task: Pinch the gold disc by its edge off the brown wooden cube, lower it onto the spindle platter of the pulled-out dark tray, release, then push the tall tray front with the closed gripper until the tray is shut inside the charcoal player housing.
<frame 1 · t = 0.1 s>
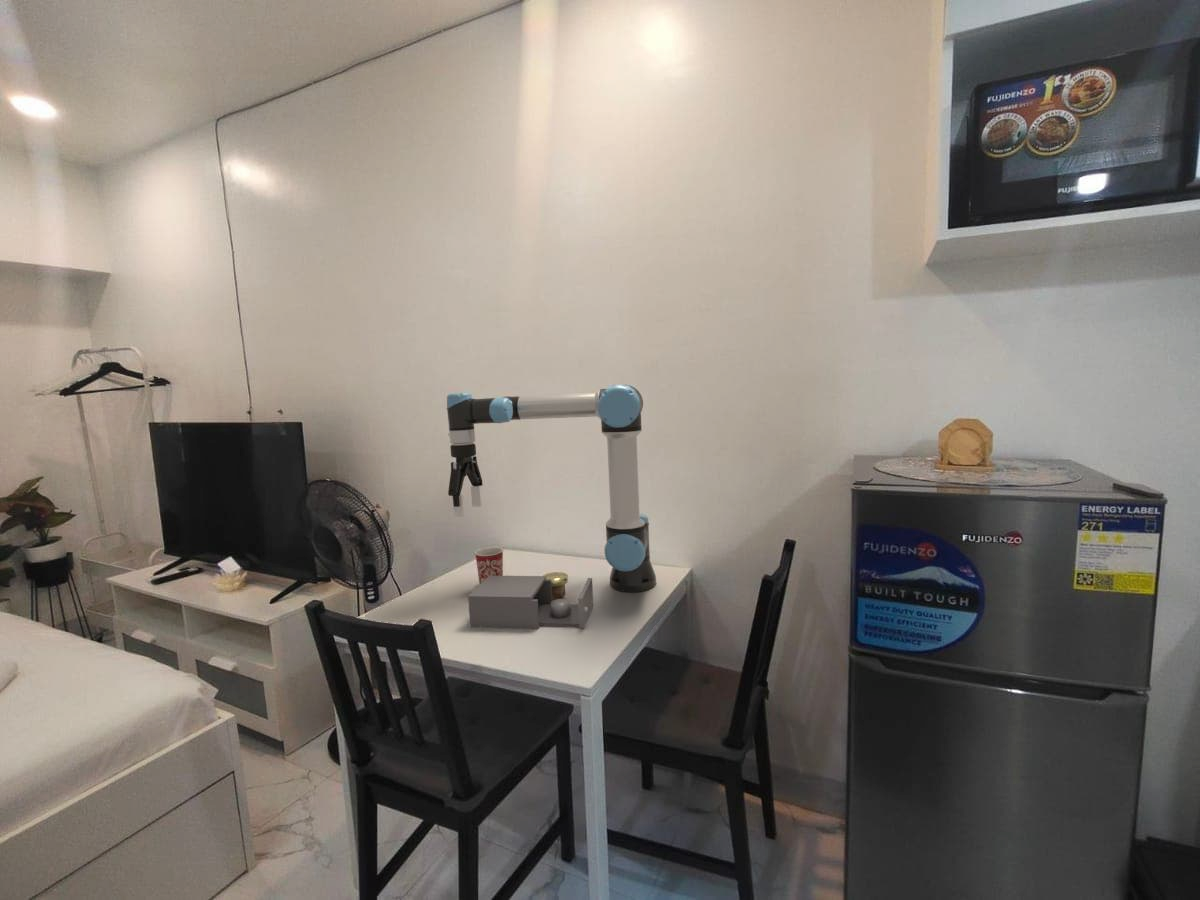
hand: (468, 511, 166), 28 cm above the table, fingers open, 13 cm apart
housing: (510, 615, 154), on the table
mug: (492, 589, 176), on the table
brown wooden cube: (555, 597, 166), on the table
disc: (555, 581, 166), point 5 cm above the table, touching brown wooden cube
tray: (555, 601, 152), point 5 cm above the table, slide at 11.0 cm
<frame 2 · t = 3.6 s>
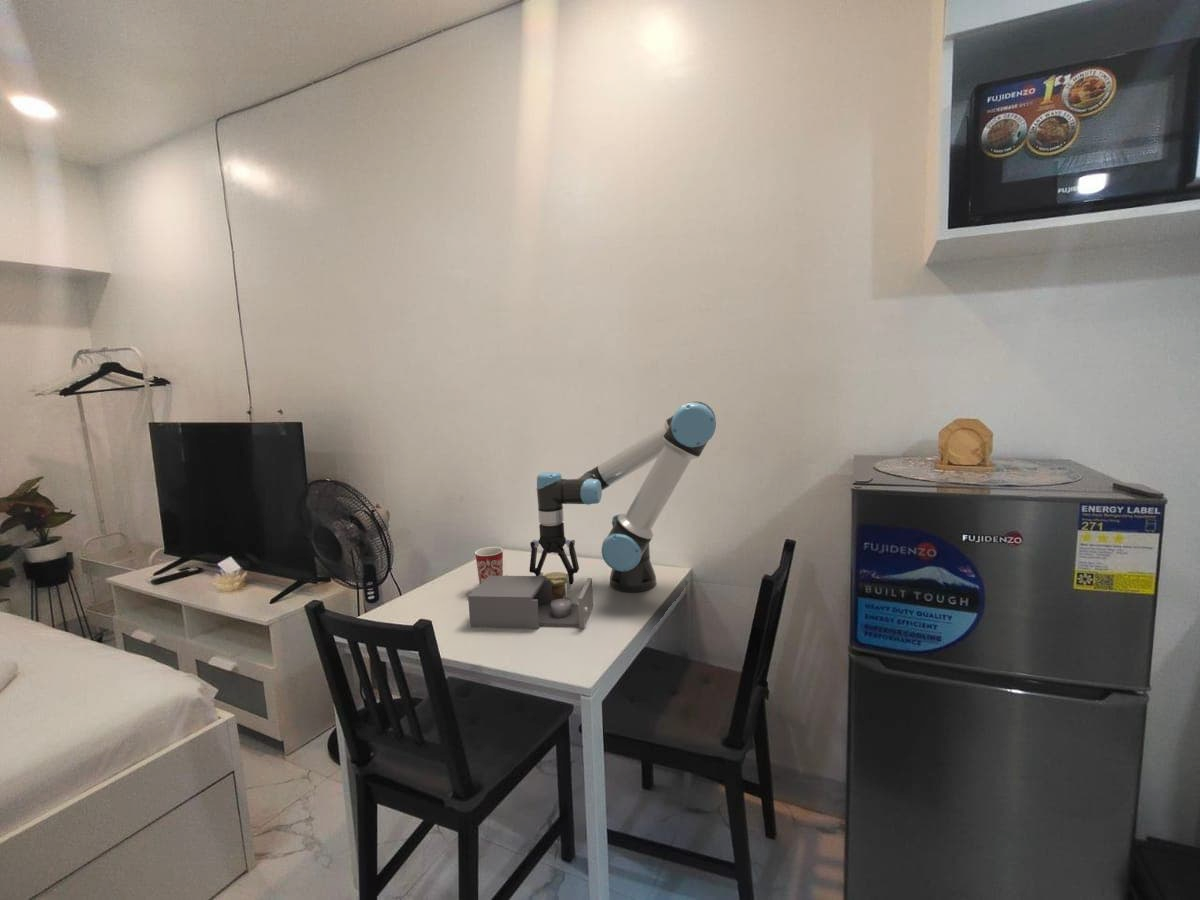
hand: (555, 593, 166), 1 cm above the table, fingers closed on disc, 8 cm apart
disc: (554, 581, 166), point 5 cm above the table, touching gripper, brown wooden cube
everything else where it was.
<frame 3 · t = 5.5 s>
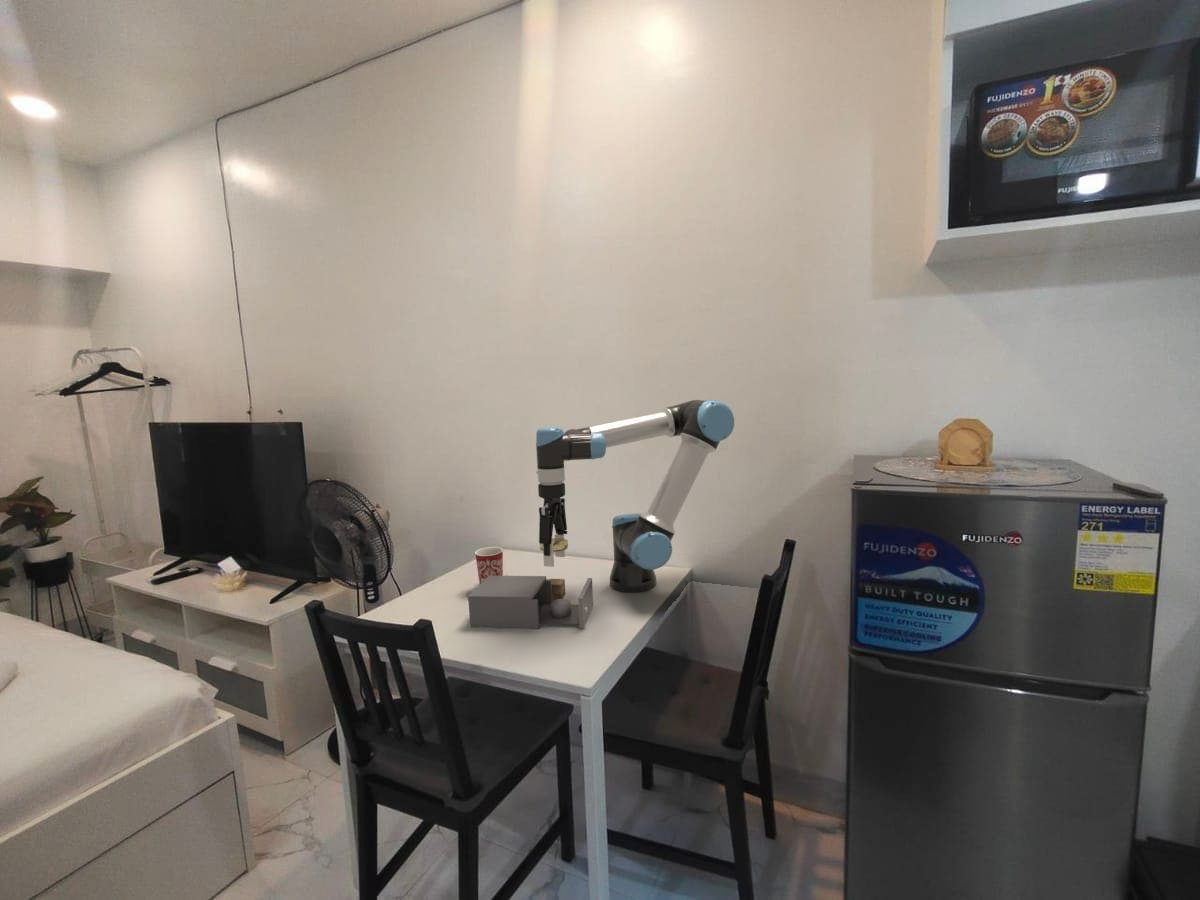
hand: (554, 561, 152), 16 cm above the table, fingers closed on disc, 8 cm apart
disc: (554, 547, 152), point 20 cm above the table, touching gripper
everything else where it was.
when the fingers open (2 cm above the table, at t = 7.6 s): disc drops 2 cm, resting on tray.
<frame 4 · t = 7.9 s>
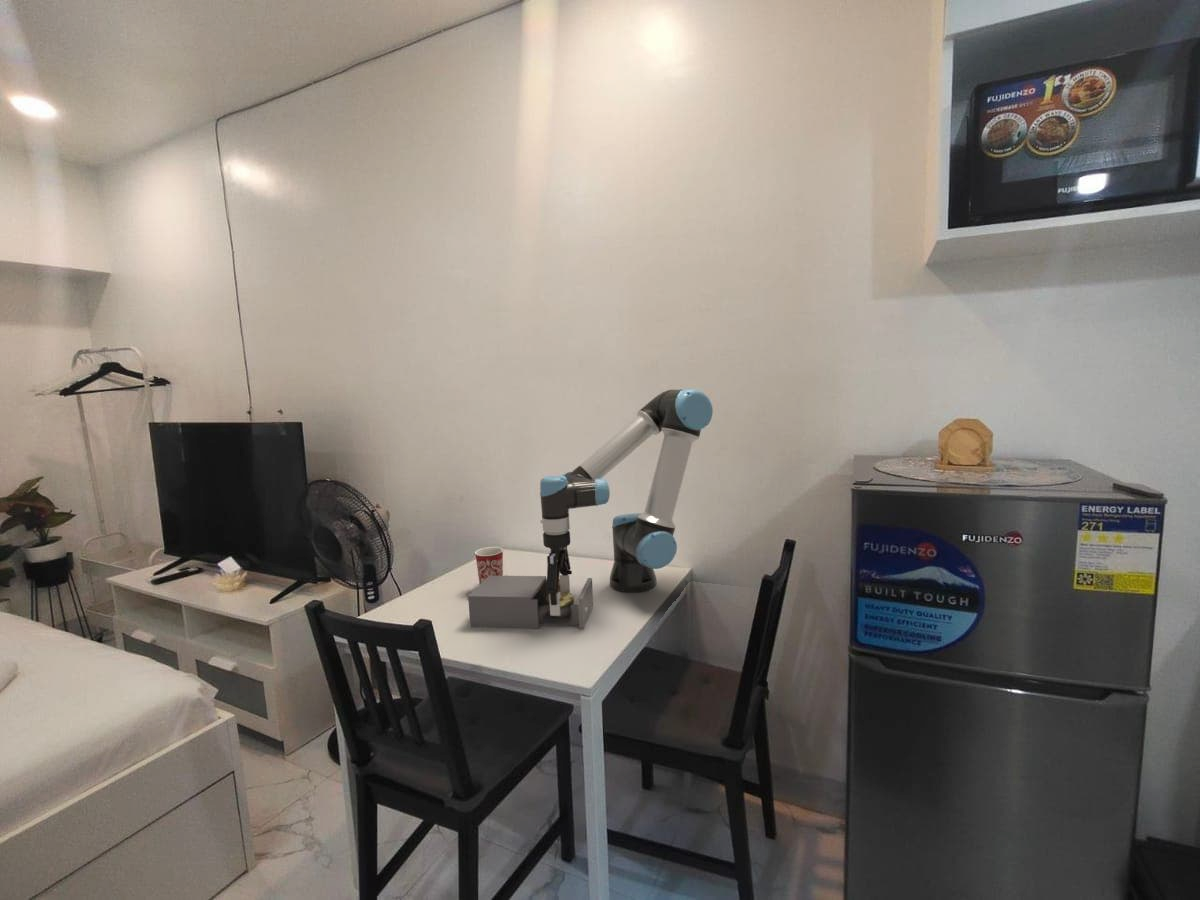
hand: (560, 605, 152), 3 cm above the table, fingers open, 12 cm apart
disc: (560, 602, 151), point 4 cm above the table, touching tray
tray: (555, 601, 152), point 5 cm above the table, slide at 11.0 cm, touching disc
everything else where it was.
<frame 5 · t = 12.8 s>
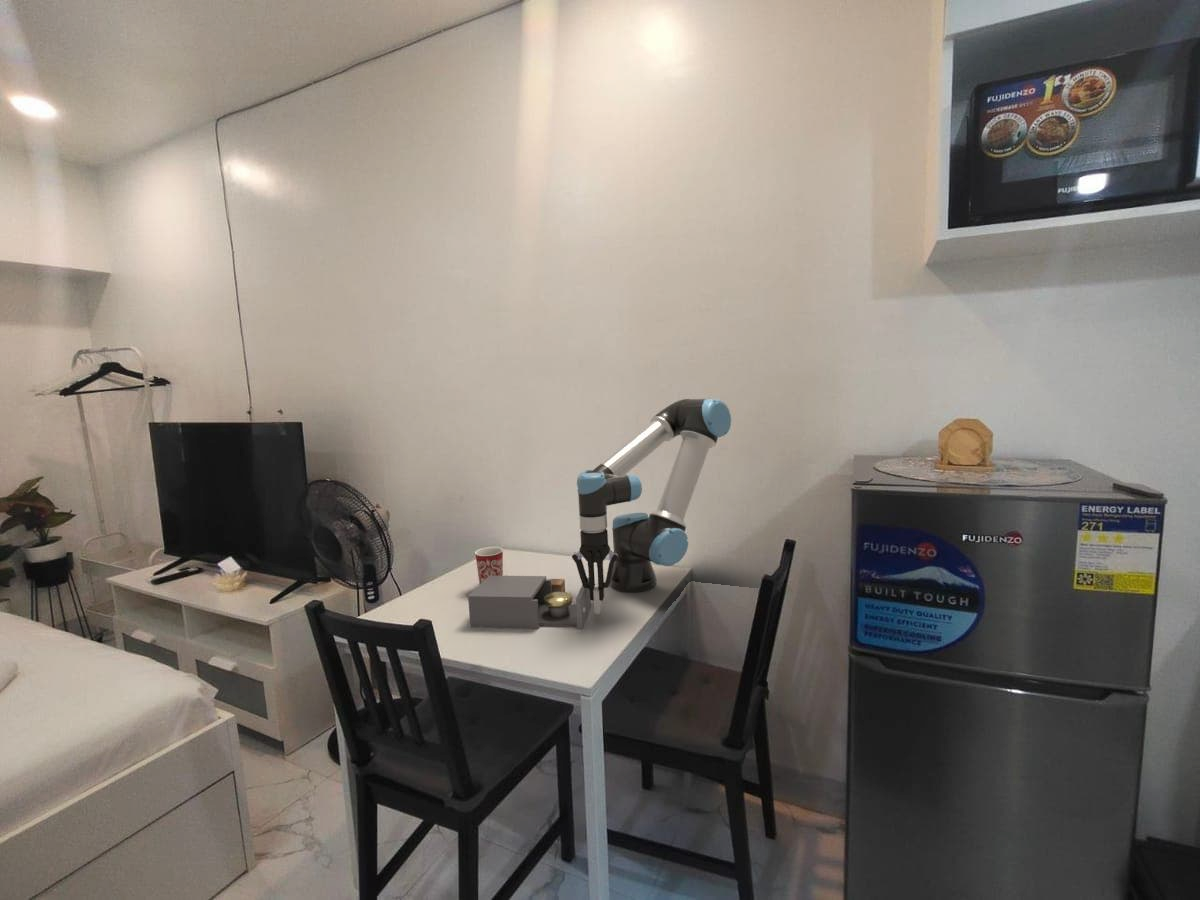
hand: (597, 611, 150), 2 cm above the table, fingers closed
tray: (553, 601, 152), point 5 cm above the table, slide at 10.4 cm, touching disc, gripper
everything else where it was.
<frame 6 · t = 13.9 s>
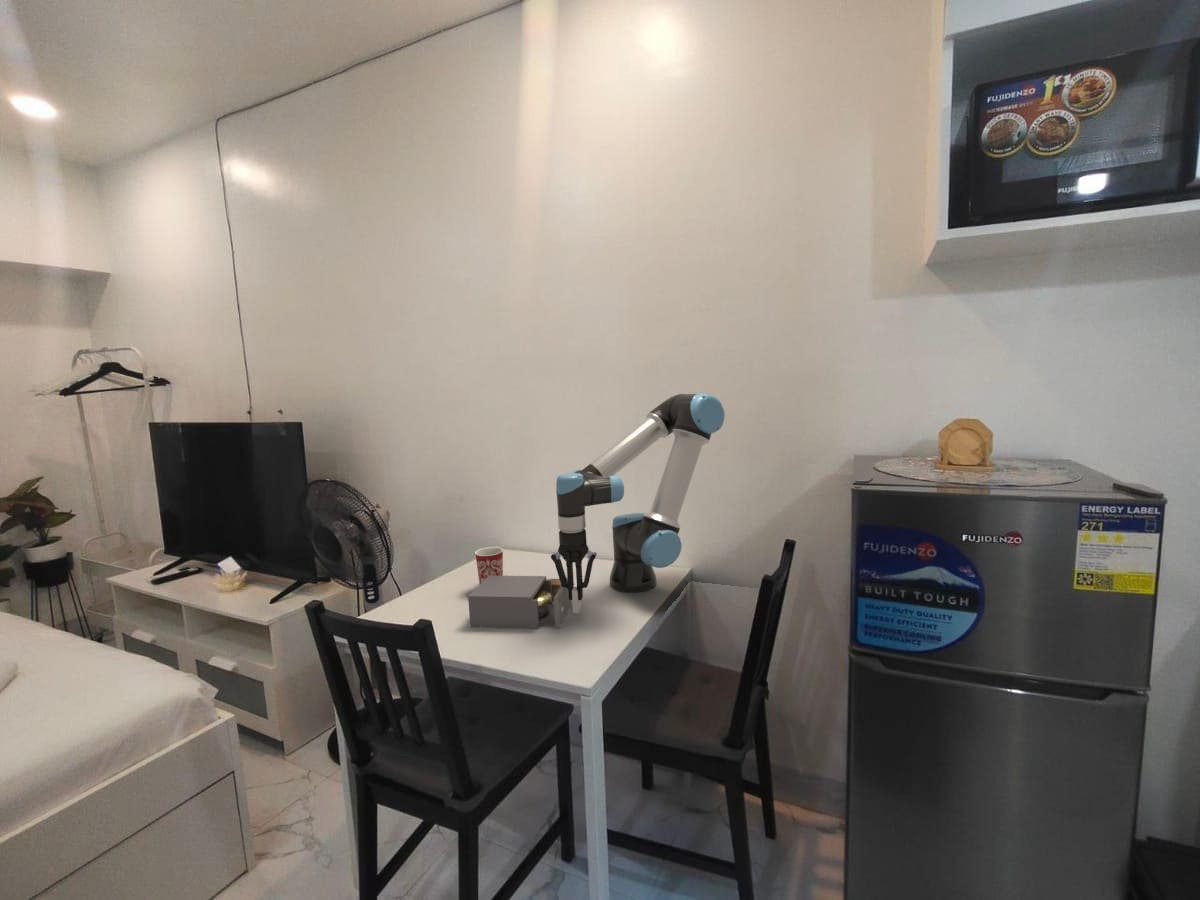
hand: (576, 610, 151), 2 cm above the table, fingers closed
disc: (537, 602, 152), point 4 cm above the table, touching tray
tray: (532, 601, 153), point 5 cm above the table, slide at 4.3 cm, touching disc, gripper
everything else where it was.
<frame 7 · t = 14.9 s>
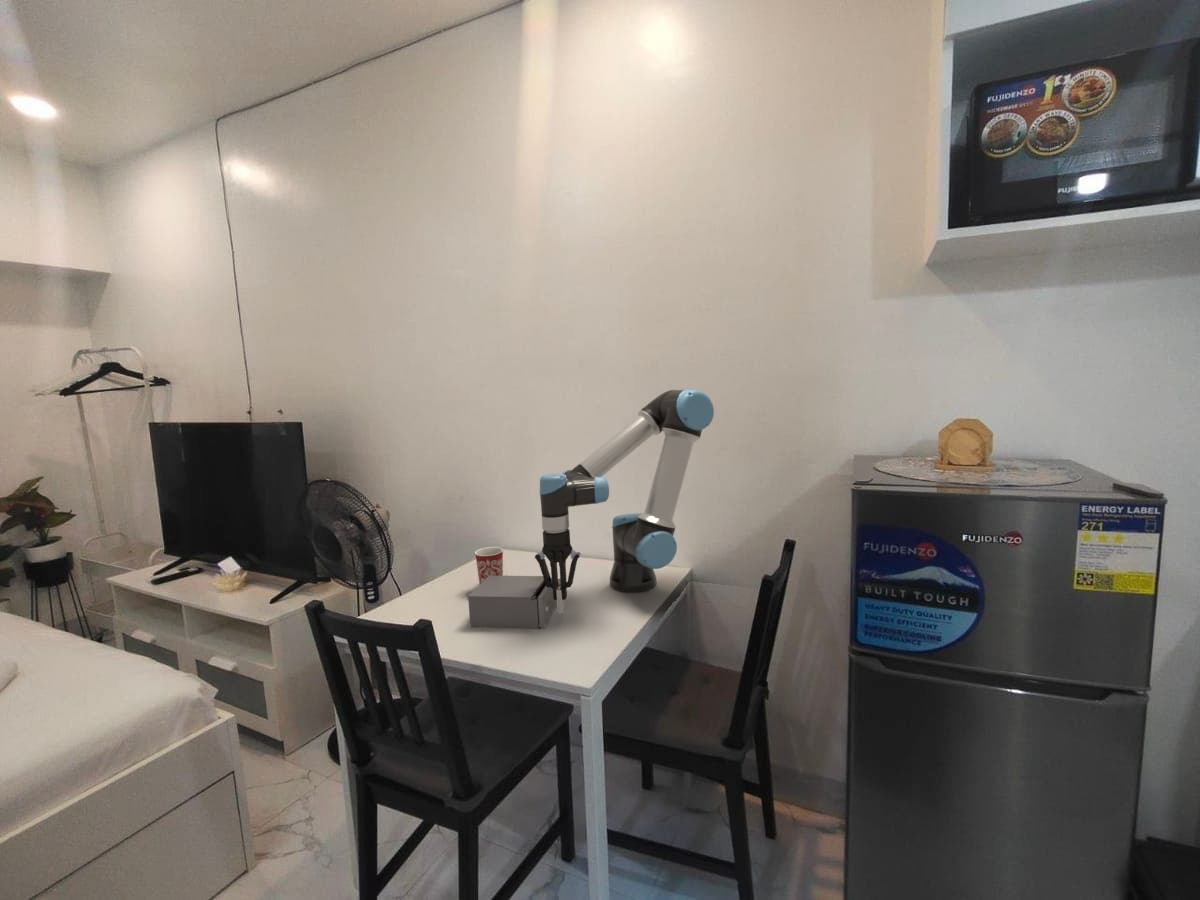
hand: (561, 610, 152), 2 cm above the table, fingers closed
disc: (522, 601, 153), point 4 cm above the table, touching tray
tray: (517, 600, 153), point 5 cm above the table, slide at -0.1 cm, touching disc, gripper
everything else where it was.
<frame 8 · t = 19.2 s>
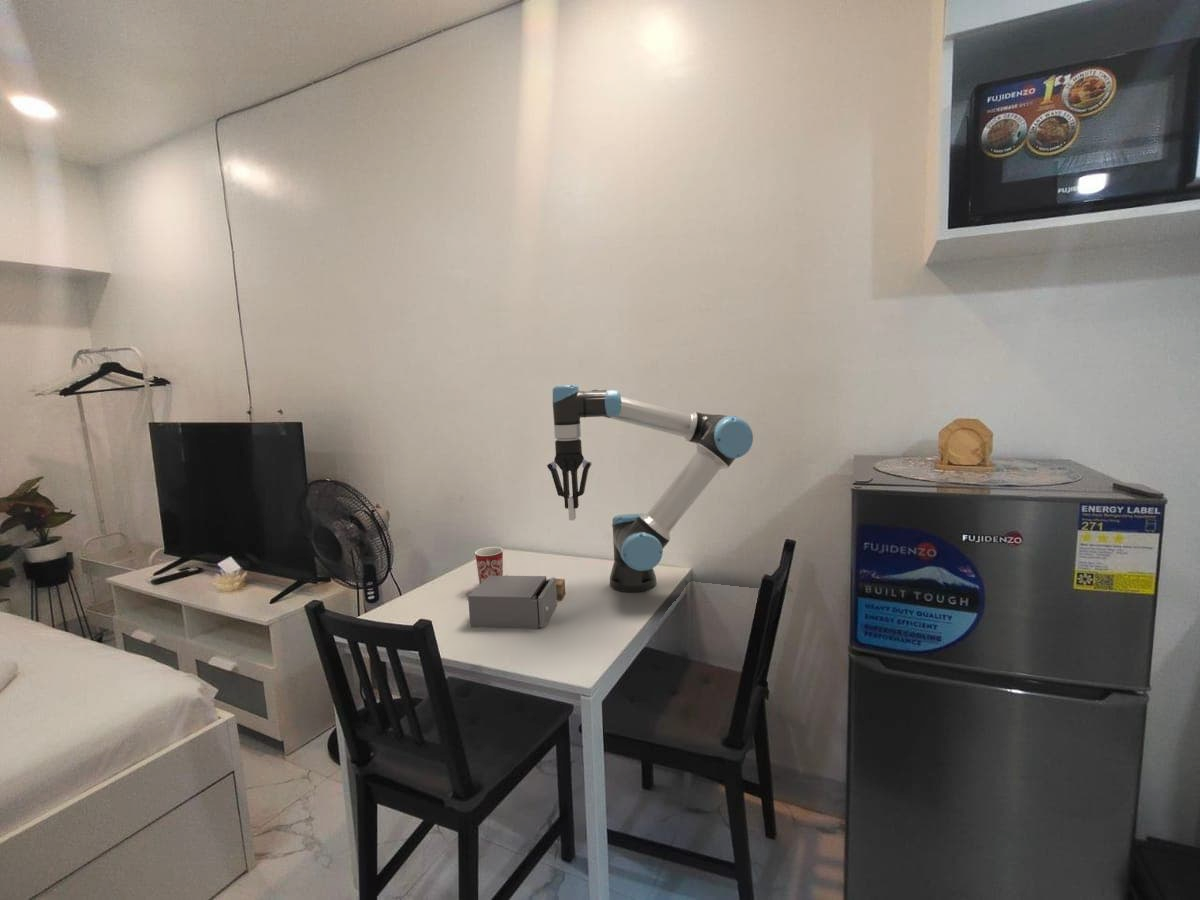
hand: (572, 519, 156), 26 cm above the table, fingers closed
tray: (518, 600, 153), point 4 cm above the table, slide at 0.0 cm, touching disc
everything else where it was.
at the end: tray slide at 0.0 cm; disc inside the target area on the housing (3.4 cm from its centre), point 4.2 cm above the housing's base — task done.
